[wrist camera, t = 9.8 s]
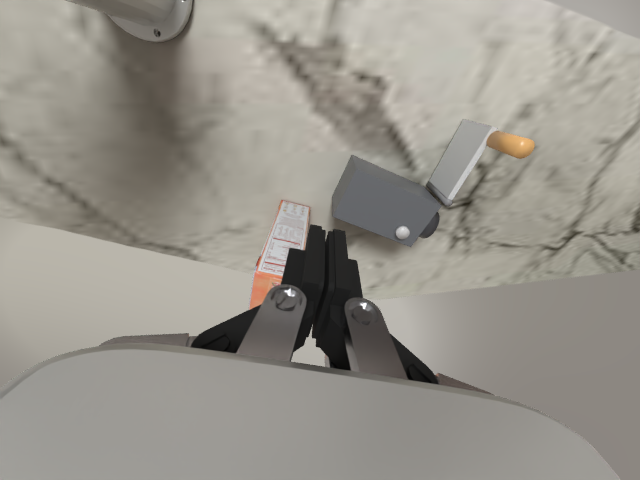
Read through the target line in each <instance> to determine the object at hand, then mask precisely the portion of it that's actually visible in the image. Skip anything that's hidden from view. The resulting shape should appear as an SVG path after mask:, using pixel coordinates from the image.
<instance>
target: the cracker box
mask: <svg viewBox="0 0 640 480" xmlns="http://www.w3.org/2000/svg"><path fill="white" fill-rule="evenodd" d="M309 213H310V207H307V206H303V205H299V204H295V203H291V202H287V201H283V200H281V203H280V205H279V208H278V211H277V213H276V216H275V219H274V221H273V224H272V226H271V229H270V231H269V234H268V236H267V239H266V242H265V244H264V247H263V249H262V251H261V254H260V257H259V259H258V262H257V264H256V267H255V269H254V275H253V282H252V288H251V295H250V302H249V309H248V310H250V309H252V308H254V307H256V306H258V305H261V304H262V303H263V301H264V299H265V297H266V295H267V293H268V292H269V290H270V289H271V288H273V287H275V286H277V285H281V281H282V277H283V273H284V268H285V264H286V260H287V256H288V252H289V248H295V249H300V250H305V246H306V238H307V230H308V222H309Z"/></svg>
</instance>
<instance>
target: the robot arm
mask: <svg viewBox="0 0 640 480" xmlns="http://www.w3.org/2000/svg"><path fill="white" fill-rule="evenodd" d="M66 1H69V2H72V3H75V4H78V5H82V6H85V7H88V8H91V9H94V10H97V11H100V12H104V13H106V14H107V15H108V16H109V17H110V18H111V19H112V20H113V21H114V22H115V23H116V24H117V25H118V26H119V27H121V28H122V29H123V30H124V31H126V32H127V33H129V34H131V35H133V36H135V37H137V38H140V39H143V40H146V41H151V42H164V41H168V40H171V39H172V38H174V37H176V36H177V35H178V34H179V33H180V32H181V31H182V30H183V29H184V27H185V25H186V24H187V22H188V20H189V16H190V13H191V9H192V1H193V0H186V1H185V0H66ZM159 33H161V35H160V34H159ZM325 234H326V230H322V226H317V225H312V224H311V225H310V228H309V233H308V237H307V242H306V246H305V250H300V249H295V248H289V252H288V256H287V260H286V264H285V268H284V273H283V277H282V281H281V285H277V286H275V287H273V288H271V289H270V290H269V292H268V293H267V295H266V297H265V299H264V301H263V303H262V304H261V305H258V306H256V307H254V308H252V309H250V310H248V311H246V312H244V313H242V314H239V315H238V316H235V317H233V318H231V319H229V320H227V321H225V322H223V323H221V324H219V325H216V326H214V327H212V328H210V329H208V330H206V331H204V332H203V333H201V334H199V335H198V336H190V337H189V334H188V333H185V334H163V335H141V336H123V337H117V338H113V339H111V340H108V341H106V342H104V343H102V344H101V345H99V346H97V347H92V348H86V349H81V350H77V351H73V352H69V353H65V354H62V355H59V356H55V357H53V358H50V359H48V360H45V361H43V362H41V363H38V364H36V365H35V366H33V367H31V368H29V369H27V370H26V371H24V372H22V373H21V374H20V375H18V376H16V377H15V378H13V379H12V380H11V381H9V382H8V383H6V384H5V385H4V386H2V387H1V388H0V480H621V479H620V478H619V477H618V476H617V474H616V473H615V472H614V471H613V469H612V468H611V467H610V466H609V465H608V464H607V462H606V461H605V460H604V459H603V458H602V456H601V455H600V454H599V453H598V452H597V451H596V450H595V449H594V448H593V447H592V446H591V445H590V443H588V442H587V441H586V440H585V439H584V438H583V437H581V436H580V435H579V434H578V433H576V432H575V431H573V430H572V429H570V428H569V427H568V426H566V425H564V424H563V423H561V422H560V421H558V420H556V419H554V418H552V417H550V416H548V415H546V414H545V413H543V412H541V411H539V410H536V409H533V408H531V407H529V406H526V405H524V404H521V403H519V402H516V401H512V400H509V399H506V398H502V397H499V396H495V395H493V394H491V393H489V392H487V391H484V390H481V389H479V388H476V387H474V386H471V385H469V384H466V383H463V382H461V381H458V380H455V379H453V378H450V377H448V376H445V375H443V374H440V373H438V374H437V375H434V374H433V372H432V371H431V370H430V369H429V368H428V367H427V366H426V365H425V364H424V363H423V362H422V361H420V360H419V359H418V358H417V357H416V356H415V355H414V354H413V353H412V352H410V351H409V350H408V349H407V348H406V347H405V346H404V345H402V344H401V343H400V342H399V341H398V340H397V339H396V338H394V337H393V336H392V335H391V334H390V333H389V331H388V328H387V326H386V323H385V321H384V318H383V316H382V313H381V311H380V310H379V308H378V307H377V306H376V305H375V304H374V303H372V302H371V301H369V300H367V299H364V298H363V295H362V289H361V283H360V277H359V270H358V264H357V261H356V260H351V259H348V253H347V244H346V235H345V231H341V230H336V229H333V232H331V231H329V232H328V235H327V238H326V242H325ZM312 324H313V327H312ZM311 327H312V338H315V339H316V347H320V348H321V349H322V351H323V352H324V353H325V354H326V355H325V367H322V366H316V365H309V364H303V363H296V362H291V359H292V356H293V352H294V351H296V350H297V349H299V348H300V347H302V346H303V345H304V343H305V340H306V337H308V336H309V334H310V330H311Z"/></svg>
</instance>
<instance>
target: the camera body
mask: <svg viewBox="0 0 640 480" xmlns="http://www.w3.org/2000/svg"><path fill="white" fill-rule="evenodd" d="M440 207H441V205H440V203H439V202H438V201H437V200H436V199H435V198H434V197H433V196H432V195H431V194H430V193H429V192H428V191H427V189H426V188H425V187H424V186H421V185H419V184H417V183H415V182H412V181H410V180H408V179H405V178H403V177H401V176H399V175H396V174H394V173H392V172H390V171H387V170H385V169H383V168H381V167H378V166H376V165H374V164H372V163H369V162H367V161H365V160H363V159H360V158H358V157H356V156H354V155H351V158H350V160H349V162H348V164H347V166H346V168H345V170H344V172H343V175H342V177H341V179H340V181H339V183H338V185H337V187H336V189H335V192H334V194H333V196H332V210H333V217H335V218H337V219H340V220H342V221H345V222H348V223H350V224H353V225H355V226H358V227H360V228H363V229H366V230H368V231H371V232H373V233H376V234H379V235H381V236H384V237H386V238H389V239H392V240H394V241H397V242H399V243H402V244H404V245H407V246H410V247H411V246H412V245H413V243H414V242H415V241H416V239H417V238H418V237H421V238H428V237H429V236H431V235H432V234H433V233H434V231H435V230H436V228H437V226H438V223H439V213H438V212H437V211H438V210H439V209H440Z"/></svg>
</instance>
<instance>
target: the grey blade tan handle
mask: <svg viewBox="0 0 640 480" xmlns="http://www.w3.org/2000/svg"><path fill="white" fill-rule="evenodd" d="M497 129H498V128H495V127H493V126H489V125H485V124H481V123H477V122H473V121H469V120H466V119H463V121H462V123H461V124H460V126H459V128H458V130H457V132H456V133H455V135H454V137H453V139H452V141H451V142H450V144H449V146H448V148H447V150H446V151H445V153H444V155H443V157H442V159H441V160H440V162H439V164H438V166H437V168H436V169H435V171H434V173H433V175H432V177H431V178H430V180H429V181H430V182H428V183H427V187H428V188H429V189H430V190H431V191H432V192H433V193H434V194H435V195H436V196H437V197H438V198H439V199H440V200H441V201H442V202H443V203H444V204H445V205H446V206H450V205H452V201H451V200H453V198H454V197H455V195H456V193H457V192H458V190H459V189H460V187H461V186H462V184H463V182H464V181H465V179H466V178H467V176H468V175H469V173H470V171H471V170H472V168H473V167H474V165H475V164H476V162H477V160H478V159H479V157H480V156H481V154H482V153H483V151H484V149H485V148H486V146H488V147H490V148H493V149H495V150H498V151H501V152H503V153H506V154H508V155H511V156H513V157H516V158H519V159H521V158H525V157H527V156H528V155H530V154H531V152H532V151H533V149H534V146H535V144H534V142H533V141H532V140H530V139H527V138H523V137H519V136H516V135H512V134H508V133H505V132H501V131H497ZM450 199H451V200H450Z"/></svg>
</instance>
